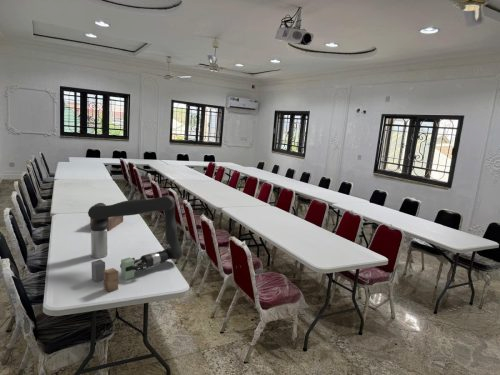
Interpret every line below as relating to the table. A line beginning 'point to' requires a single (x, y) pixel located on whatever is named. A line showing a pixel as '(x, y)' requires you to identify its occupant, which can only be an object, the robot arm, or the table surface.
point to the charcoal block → (98, 270)
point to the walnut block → (111, 280)
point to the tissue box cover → (111, 222)
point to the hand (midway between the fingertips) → (123, 268)
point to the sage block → (124, 264)
